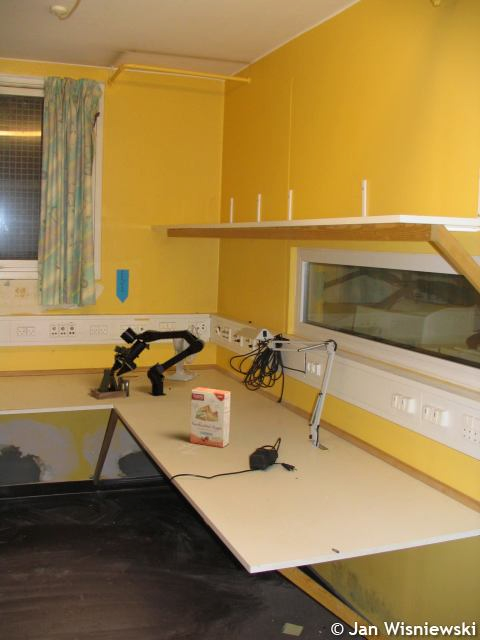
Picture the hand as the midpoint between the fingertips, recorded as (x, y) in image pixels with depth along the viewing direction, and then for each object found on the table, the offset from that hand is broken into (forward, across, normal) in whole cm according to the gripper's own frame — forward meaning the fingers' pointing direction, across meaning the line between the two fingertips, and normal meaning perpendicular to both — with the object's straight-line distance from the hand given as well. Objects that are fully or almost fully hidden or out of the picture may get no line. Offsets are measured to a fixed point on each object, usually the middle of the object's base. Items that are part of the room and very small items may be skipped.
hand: (113, 374), depth 345 cm
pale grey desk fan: (-28, -32, +43) cm, 61 cm away
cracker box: (+2, +91, +14) cm, 92 cm away
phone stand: (+8, 0, +5) cm, 10 cm away
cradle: (+9, 0, +6) cm, 11 cm away
